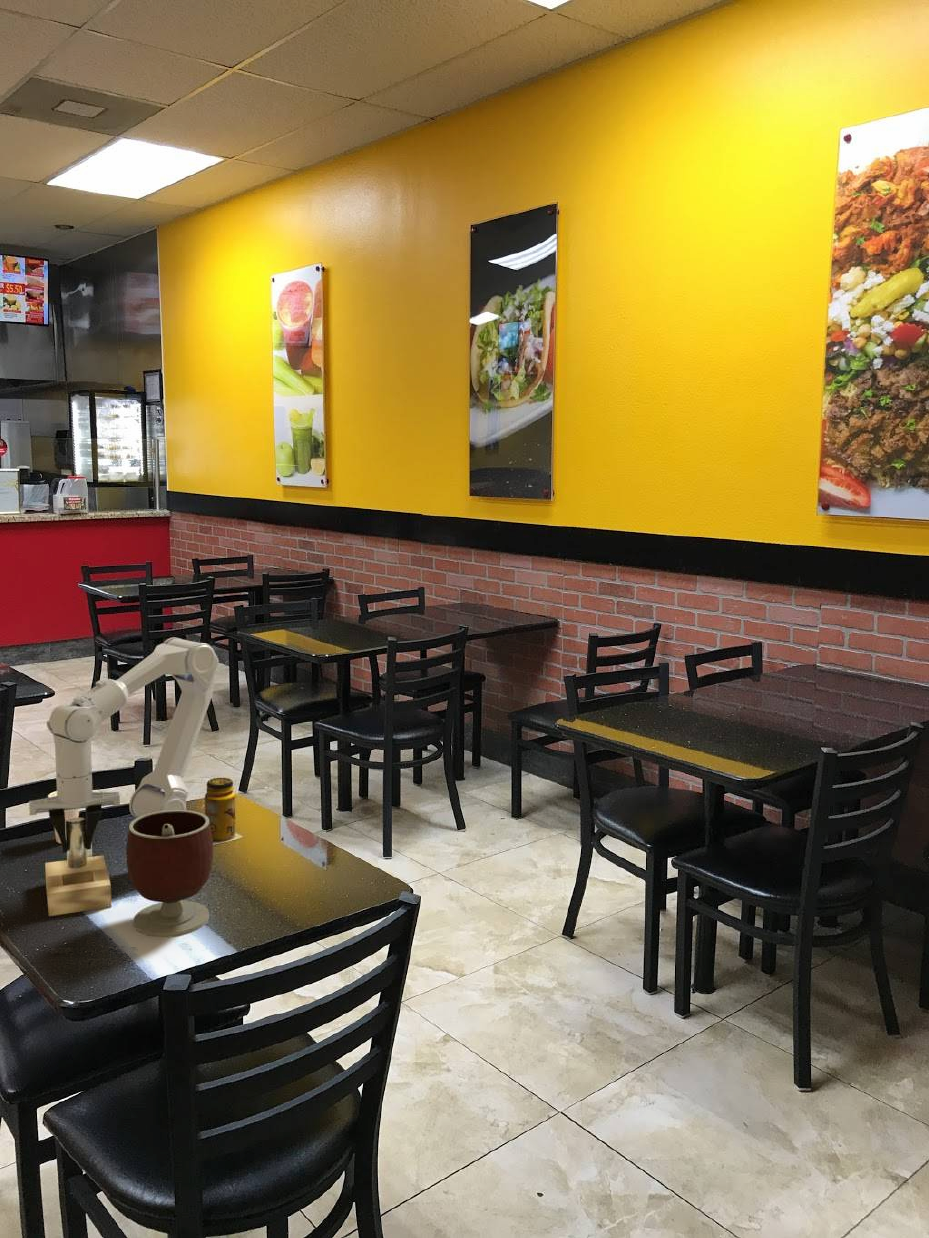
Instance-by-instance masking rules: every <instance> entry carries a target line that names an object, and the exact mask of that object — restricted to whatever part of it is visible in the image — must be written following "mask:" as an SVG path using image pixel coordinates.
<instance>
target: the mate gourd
mask: <svg viewBox="0 0 929 1238" xmlns="http://www.w3.org/2000/svg"><path fill="white" fill-rule="evenodd" d="M128 827H129V829H128V833H127V838H126V840H127V841H126V848H125V849H126V850H125V851H126V867H127V873H128V877H129V879H130V880H129V881H130V884H131V885H132V887H133V888H134V889H135V890H136V891H137V892H138V894H139V895H141V897H142V898H143V899H145V900H148V901H151V902H157V903H155V904H151V905H149V906H146V907H145V908H142V909H141V910H139V911H138V912H137V913H136V914H135V915H134V917H133V927H135V928H136V929H135V928H134V929H135V930H136V931H137V930H138V931H139V932H138V931H137V932H138V933H140V934H142V935H145V936H150V937H154V936H155V937H156V936H158V938H170V937H169V936H172V937H178V936H183V935H187V934H190V933H193V932H195V931H197V930H199V929H201V928H202V927H204V926H205V925H207V923H208V921H209V919H210V911H209V909H208V907H206V906H205V905H203V904H201V903H199V902H195V901H190V900H187V899H189V898H192V897H194V896H195V895H197V894H198V893H200V891H201V890H202V888H203V887H204V886H205V884H207V881H208V880H209V879H210V876H211V871H212V866H213V861H214V860H213V859H214V845H213V839H212V833H211V828H210V824H209V818H208V817H207V816H206V815H205V813H201V812H199V811H193V810H188V809H186V810H167V811H159V812H154V813H149V814H146V815H143V816H140V817H138V818H136V817H135V818H134V819H133V820H132V821H131V822H130V824H129V826H128ZM185 899H186V900H185ZM156 938H157V937H156Z"/></svg>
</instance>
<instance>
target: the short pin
mask: <svg viewBox="0 0 929 1238" xmlns="http://www.w3.org/2000/svg"><path fill="white" fill-rule="evenodd" d="M87 857H93V842H92V843H91V849H87Z"/></svg>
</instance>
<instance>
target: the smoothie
mask: <svg viewBox="0 0 929 1238" xmlns="http://www.w3.org/2000/svg"><path fill="white" fill-rule="evenodd" d="M54 796H57V790H56V791H53V792H51V793H48V795H47V798H50V797H54ZM64 812H65V832H66V821H67V820H68V819H71V818H79V815H80V809H72V810H64ZM53 828H54V835H55V840H56V843H57V842H58V844H61V841H60V838H59V835H58V833H57V831H56V829H55V827H54V826H53ZM66 842H67V841H66Z"/></svg>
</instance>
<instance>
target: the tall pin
mask: <svg viewBox="0 0 929 1238" xmlns="http://www.w3.org/2000/svg"><path fill="white" fill-rule="evenodd" d="M66 841H67V852H66V860H67V866H68V867H69V868H81V867H84V866H86V865H87V848H86V818H84V817H78V818H71V819H68V820H67V821H66Z"/></svg>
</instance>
